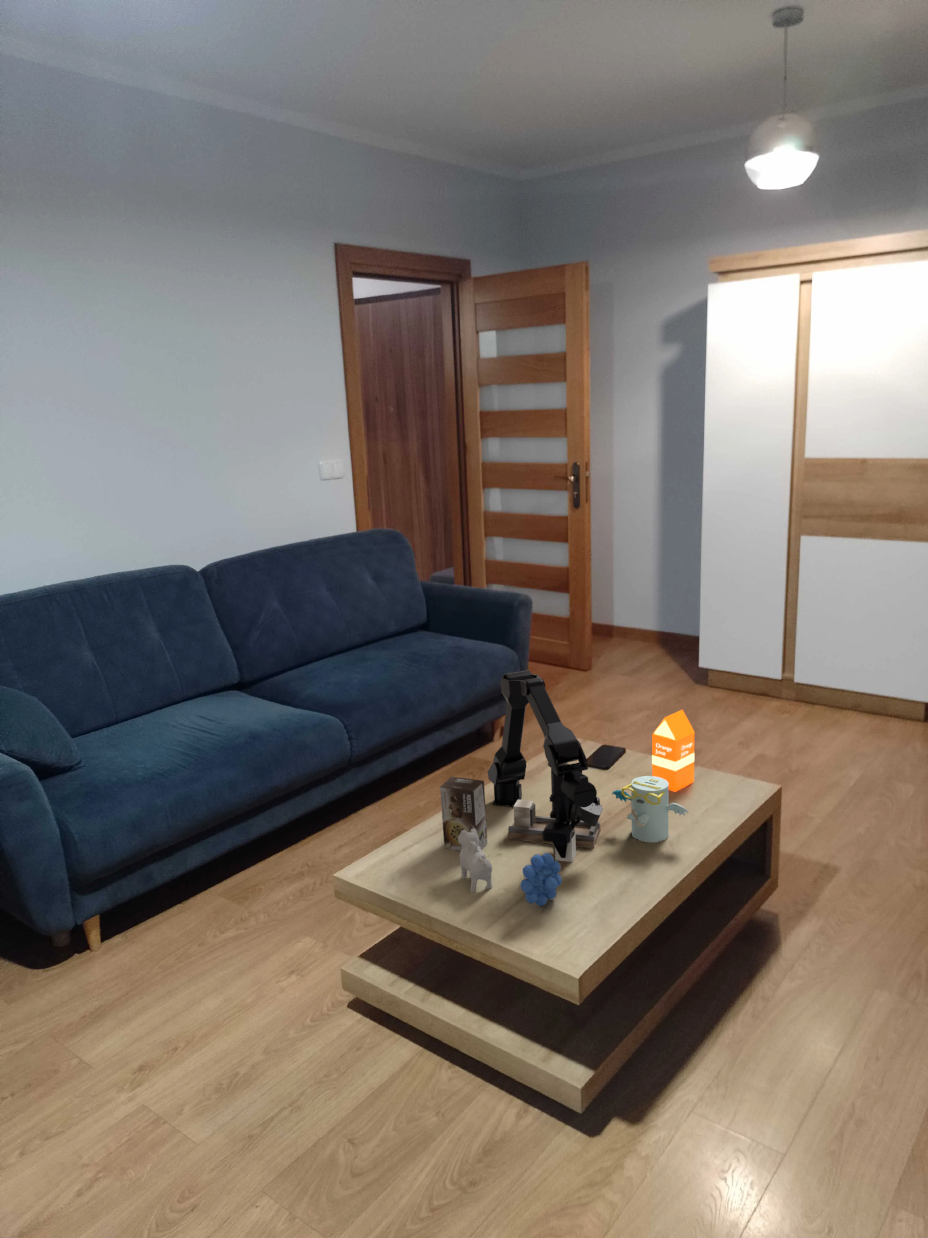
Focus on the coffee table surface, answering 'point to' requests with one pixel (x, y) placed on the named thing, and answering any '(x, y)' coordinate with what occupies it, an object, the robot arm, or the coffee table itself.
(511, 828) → the rail
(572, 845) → the off-white square prism
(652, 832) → the character sculpture
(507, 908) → the coffee table surface
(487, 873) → the dog figurine
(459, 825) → the coffee box
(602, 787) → the coffee table surface
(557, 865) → the grapes
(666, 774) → the orange juice
